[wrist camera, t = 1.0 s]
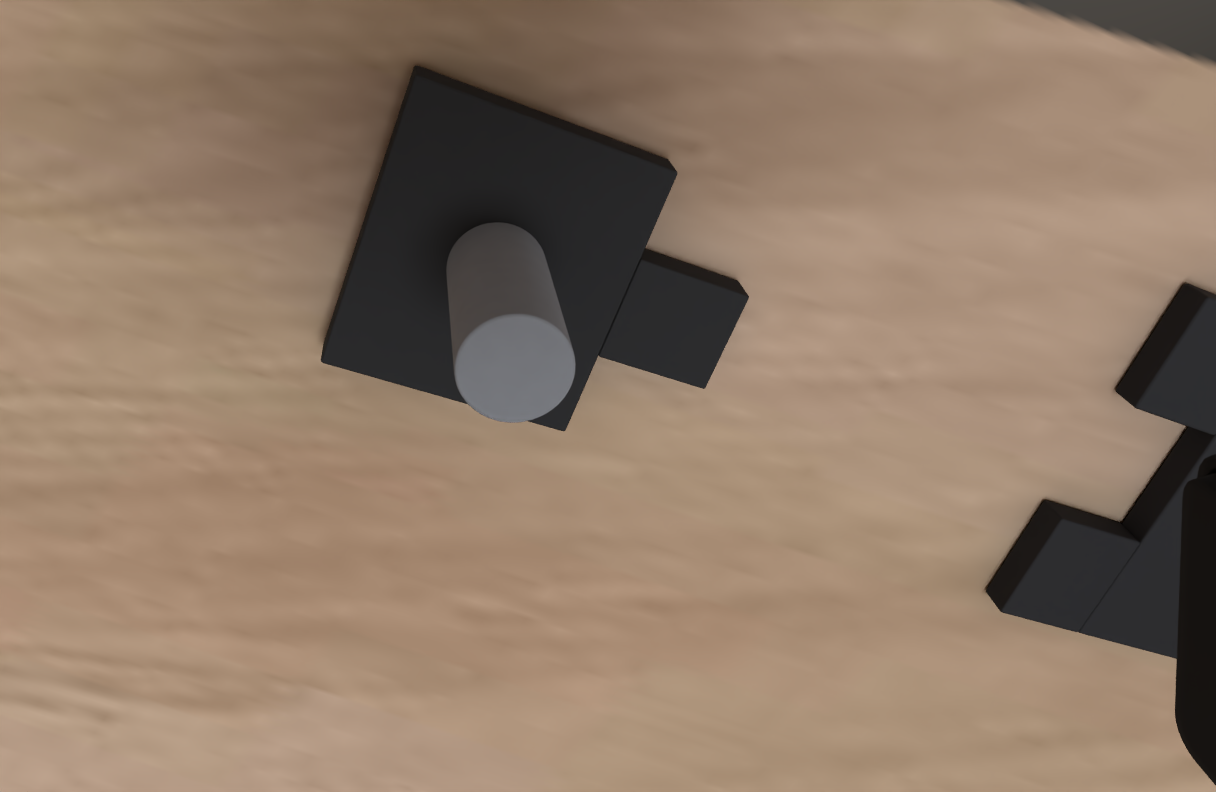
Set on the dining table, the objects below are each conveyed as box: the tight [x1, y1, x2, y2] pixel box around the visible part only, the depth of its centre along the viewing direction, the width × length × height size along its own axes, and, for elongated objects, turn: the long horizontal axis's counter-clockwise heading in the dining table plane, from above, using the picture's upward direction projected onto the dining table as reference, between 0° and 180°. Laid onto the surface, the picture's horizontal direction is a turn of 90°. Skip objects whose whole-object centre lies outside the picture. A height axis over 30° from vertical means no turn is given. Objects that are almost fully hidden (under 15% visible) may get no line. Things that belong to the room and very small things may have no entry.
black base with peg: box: [321, 66, 749, 431], centre depth 28 cm, size 8×10×7 cm
